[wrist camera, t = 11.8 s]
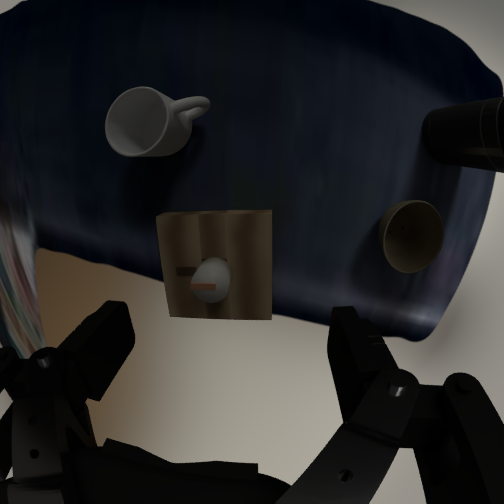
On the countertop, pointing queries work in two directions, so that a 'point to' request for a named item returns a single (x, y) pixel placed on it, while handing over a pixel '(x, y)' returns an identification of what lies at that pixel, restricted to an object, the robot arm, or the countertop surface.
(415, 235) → the yellowish brown bowl
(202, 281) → the knob
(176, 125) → the mug
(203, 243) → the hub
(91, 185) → the countertop surface
